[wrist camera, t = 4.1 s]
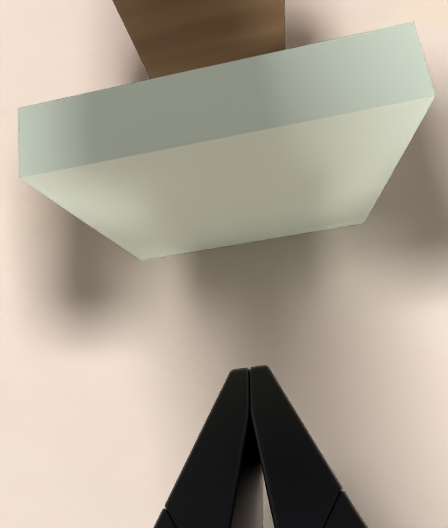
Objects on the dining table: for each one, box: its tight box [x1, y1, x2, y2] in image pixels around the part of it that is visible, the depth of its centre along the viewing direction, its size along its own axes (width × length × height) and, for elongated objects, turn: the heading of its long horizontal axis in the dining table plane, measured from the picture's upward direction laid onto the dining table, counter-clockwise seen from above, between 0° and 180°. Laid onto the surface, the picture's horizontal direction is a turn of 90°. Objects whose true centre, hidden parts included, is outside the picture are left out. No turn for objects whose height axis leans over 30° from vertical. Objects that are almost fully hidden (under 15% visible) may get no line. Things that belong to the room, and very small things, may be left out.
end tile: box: [18, 22, 436, 261], centre depth 14 cm, size 2×10×9 cm, turn 97°
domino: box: [113, 0, 285, 79], centre depth 16 cm, size 2×5×9 cm, turn 97°
